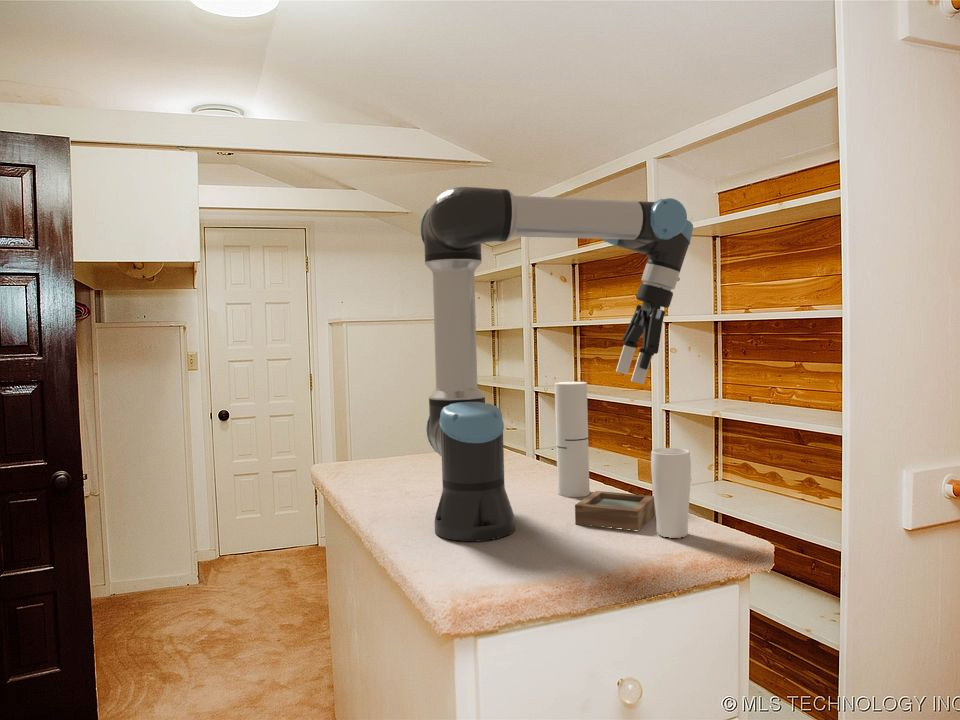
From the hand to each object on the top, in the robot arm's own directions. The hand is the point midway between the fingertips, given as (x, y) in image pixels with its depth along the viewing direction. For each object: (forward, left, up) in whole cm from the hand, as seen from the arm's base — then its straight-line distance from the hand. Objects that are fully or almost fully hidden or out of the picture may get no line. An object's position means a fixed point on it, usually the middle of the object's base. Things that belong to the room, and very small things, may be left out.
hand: (628, 377), depth 150 cm
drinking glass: (-29, -16, -26) cm, 42 cm away
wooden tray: (-24, -4, -26) cm, 35 cm away
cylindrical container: (-7, +11, -26) cm, 29 cm away
